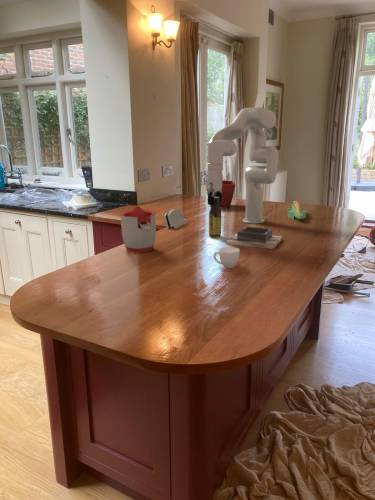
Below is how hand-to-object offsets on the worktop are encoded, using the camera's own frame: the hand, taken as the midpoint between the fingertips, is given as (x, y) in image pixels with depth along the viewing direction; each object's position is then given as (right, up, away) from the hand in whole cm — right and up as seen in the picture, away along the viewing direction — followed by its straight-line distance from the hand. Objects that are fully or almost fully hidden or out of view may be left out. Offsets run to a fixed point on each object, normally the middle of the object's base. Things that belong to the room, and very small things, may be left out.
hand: (214, 203), depth 197 cm
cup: (+2, -29, -39) cm, 49 cm away
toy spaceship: (+53, -3, +46) cm, 70 cm away
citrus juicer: (-34, -23, -16) cm, 44 cm away
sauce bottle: (+1, -16, +5) cm, 17 cm away
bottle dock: (+19, -19, -5) cm, 27 cm away
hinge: (-20, -9, +31) cm, 38 cm away
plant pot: (+9, +7, +83) cm, 84 cm away
